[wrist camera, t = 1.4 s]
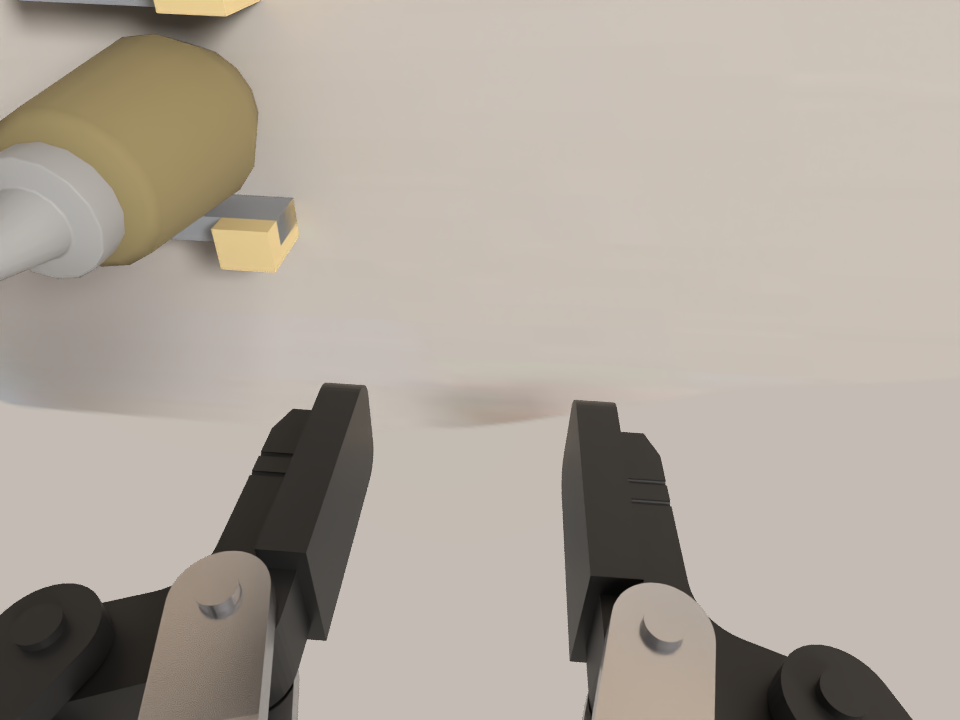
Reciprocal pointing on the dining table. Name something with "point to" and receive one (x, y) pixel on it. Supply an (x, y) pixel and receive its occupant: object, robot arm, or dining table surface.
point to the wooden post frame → (240, 218)
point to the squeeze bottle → (121, 156)
